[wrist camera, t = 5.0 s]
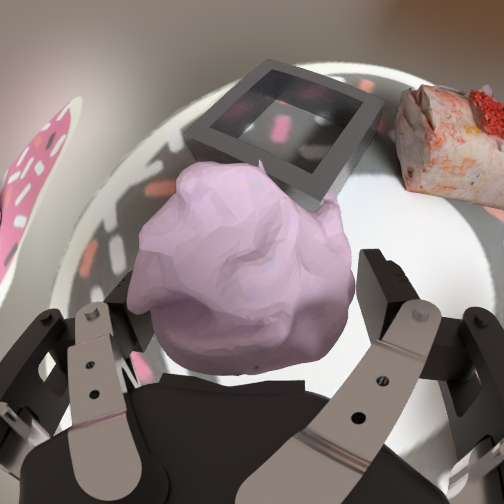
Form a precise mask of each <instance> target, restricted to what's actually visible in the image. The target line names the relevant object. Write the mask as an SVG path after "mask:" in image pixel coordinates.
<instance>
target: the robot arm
mask: <svg viewBox="0 0 504 504" xmlns="http://www.w3.org/2000/svg"><path fill="white" fill-rule="evenodd" d="M0 220H1V210H0ZM132 273H133V270H132V271H130V272H129V273H127V275H126V276H125V277H124V278H123V279H122V281H120V283H119V284H118V285H117V287H115V288H114V290H113V291H112V292H111V293H110V294H109V295H108V297H107V298H106V299H105V300H104V301H103V302H94V303H91V304H88V305H86V306H84V307H83V308H81V309H80V310H79V311H78V313H77V314H76V317H75V318H71V319H64V318H63V316H62V314H61V312H60V310H58V309H49V310H46V311H44V312H42V313H41V314H40V315H38V316H37V317H36V318H35V320H34V321H33V322H32V323H31V324H30V325H29V327H28V328H27V329H26V330H25V332H24V333H23V334H22V335H21V336H20V338H19V339H18V340H17V341H16V342H15V344H14V345H13V346H12V348H11V349H10V350H9V351H8V353H7V354H6V355H5V357H4V358H3V359H2V361H1V362H0V468H1V469H2V470H3V471H5V472H7V473H9V474H10V475H11V476H13V477H14V478H16V479H17V480H19V481H20V497H19V504H504V329H503V328H502V326H501V325H500V323H499V322H498V320H497V318H496V317H495V316H494V315H493V314H492V313H491V312H490V311H488V310H486V309H484V308H481V307H470V308H468V309H466V311H465V312H464V314H463V317H462V319H454V318H446V317H442V316H441V312H440V310H439V309H438V308H437V307H436V306H435V305H434V304H432V303H430V302H428V301H425V300H421V299H420V298H419V296H418V294H417V293H416V291H415V289H414V288H413V286H412V284H411V283H410V282H409V280H408V278H407V276H405V273H404V272H403V270H402V269H401V267H400V266H399V265H397V264H396V263H394V262H393V261H392V260H388V261H386V259H385V258H384V256H383V254H382V253H381V251H380V250H379V249H361V250H360V253H359V262H358V273H357V282H356V294H357V299H358V302H359V306H360V309H361V312H362V315H363V318H364V322H365V325H366V328H367V332H368V335H369V339H370V342H371V346H370V348H369V349H368V351H367V352H366V354H365V355H364V356H363V358H362V359H361V361H360V362H359V363H358V365H357V366H356V368H355V369H354V370H353V372H352V373H351V374H350V376H349V377H348V378H347V379H346V381H345V382H344V383H343V385H342V386H341V387H340V388H339V390H338V391H337V392H336V393H335V395H334V396H333V397H332V398H331V399H330V398H328V397H325V396H323V395H320V394H317V393H313V392H309V391H305V380H296V381H263V382H257V383H251V384H245V385H238V386H230V387H229V386H223V385H220V384H217V383H213V382H210V381H207V380H204V379H201V378H197V377H194V376H185V375H176V374H168V373H163V374H162V377H161V379H160V381H159V383H153V384H147V385H144V386H141V384H140V381H139V378H138V375H137V372H136V369H135V366H134V363H133V360H132V358H131V356H130V354H131V352H132V351H136V352H143V353H144V351H145V350H146V348H147V346H148V344H149V342H150V340H151V338H152V337H153V335H154V333H155V332H154V329H153V325H152V317H151V311H150V310H149V311H148V312H145V313H143V314H139V315H136V314H134V313H132V312H131V311H129V309H128V308H127V296H128V289H129V285H130V281H131V277H132ZM48 352H49V353H50V355H51V356H52V358H53V359H54V361H55V363H56V365H55V366H54V368H53V369H52V371H51V373H50V374H49V376H48V377H47V379H46V381H45V382H43V380H42V379H41V378H40V376H39V373H38V367H39V364H40V363H41V361H42V360H43V358H44V357H45V355H46V354H47V353H48ZM476 370H477V373H478V375H479V378H480V381H481V386H480V383H479V381H478V378H477V376H476V374H475V371H476ZM418 378H421V379H430V380H438V383H439V386H440V389H441V393H442V396H443V399H444V403H445V406H446V410H447V414H448V418H449V422H450V426H451V430H452V434H453V438H454V443H455V448H456V453H457V458H458V462H457V463H456V465H455V466H454V467H453V469H452V471H451V473H450V477H449V486H448V492H447V495H445V494H444V493H443V492H442V491H441V490H440V489H439V488H437V487H436V486H435V485H434V484H432V483H431V482H430V481H429V480H427V479H426V478H425V477H424V476H422V475H421V474H420V473H419V472H417V471H416V470H415V469H414V468H413V467H411V466H410V465H409V464H408V463H407V462H405V461H404V460H403V459H402V458H401V457H399V456H398V455H397V454H396V453H395V452H393V451H392V450H391V449H390V448H389V447H388V446H386V445H385V444H384V442H385V441H386V439H387V437H388V436H389V434H390V432H391V431H392V429H393V427H394V425H395V424H396V422H397V420H398V418H399V417H400V415H401V413H402V411H403V409H404V407H405V405H406V403H407V401H408V399H409V397H410V395H411V393H412V391H413V389H414V387H415V385H416V383H417V381H418ZM69 403H70V407H71V416H72V426H71V427H69V428H67V429H66V430H64V431H62V432H60V433H59V434H57V435H55V436H53V435H54V433H55V431H56V429H57V427H58V425H59V423H60V421H61V419H62V417H63V415H64V413H65V411H66V409H67V407H68V405H69Z"/></svg>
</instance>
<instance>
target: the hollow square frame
mask: <svg viewBox="0 0 504 504" xmlns="http://www.w3.org/2000/svg"><path fill="white" fill-rule="evenodd" d="M276 99H277V100H280V101H283V102H286V103H288V104H291V105H294V106H296V107H299V108H302V109H304V110H307V111H309V112H312V113H314V114H316V115H319V116H321V117H324V118H326V119H328V120H330V121H333V122H335V123H337V124H339V125H342V126H344V127H345V129H344V130H343V132H342V133H341V134H340V136H339V137H338V139H337V140H336V141H335V143H334V144H333V146H332V147H331V148H330V150H329V151H328V153H327V154H326V155H325V157H324V158H323V160H322V161H321V162H320V164H319V165H318V166H317V168H316V169H315V171H314V172H313V173H312V174H311V173H309V172H307V171H305V170H303V169H301V168H299V167H297V166H295V165H293V164H291V163H289V162H287V161H285V160H282V159H280V158H278V157H276V156H274V155H272V154H270V153H268V152H265V151H263V150H261V149H259V148H257V147H254V146H252V145H250V144H248V143H245V142H243V141H241V140H238V138H239V137H240V136H241V134H242V133H243V132H244V131H245V130H246V129H247V128H248V127H249V126H250V125H251V124H252V123H253V122H254V121H255V120H256V119H257V118H258V117H259V116H260V115H261V114H262V113H263V112H264V111H265V109H266V108H267V107H268V106H269V105H270V104H271V103H272V102H273V101H274V100H276ZM384 105H385V100H383V99H380V98H378V97H376V96H374V95H372V94H369V93H367V92H365V91H363V90H360V89H358V88H355V87H353V86H350V85H348V84H345V83H343V82H340V81H338V80H335V79H332V78H330V77H327V76H324V75H321V74H318V73H315V72H312V71H309V70H306V69H303V68H300V67H296V66H293V65H289V64H286V63H282V62H279V61H275V60H271V59H267V60H266V61H264V62H263V63H262V64H260V65H259V66H258V67H257V68H255V69H254V70H253V71H252V72H251V73H249V74H248V75H247V76H246V77H245V78H243V79H242V80H241V81H240V82H239V83H237V84H236V85H235V86H234V87H233V88H232V89H231V90H229V91H228V92H227V93H226V94H225V95H224V96H223V97H222V98H221V99H219V100H218V101H217V102H216V103H215V104H214V105H213V106H212V107H211V108H210V109H209V110H208V111H207V112H206V113H205V114H204V115H203V116H201V117H200V118H199V119H198V120H197V121H196V122H195V123H194V124H193V125H192V126H191V127H190V128H189V129H188V130H187V131H186V132H185V133H184V136H185V138H186V140H187V142H188V144H189V146H190V148H191V150H192V152H193V154H194V156H195V158H196V160H197V162H210V161H213V162H217V163H220V164H235V163H247V164H250V165H253V166H255V167H258V165H259V159H260V160H261V162H262V164H263V167H264V170H265V172H266V174H267V176H268V177H269V178H270V179H271V180H272V181H273V182H274V183H275V184H276V185H277V186H278V187H279V188H280V189H281V190H282V191H283V192H284V193H285V194H286V195H288V196H289V197H290V198H291V199H292V200H294V201H295V202H296V203H297V204H299V205H300V206H301V207H302V208H304V209H305V210H307V211H314V210H316V209H317V208H319V207H320V206H321V205H322V204H323V197H325V196H326V195H328V194H329V193H330V192H331V190H332V191H333V193H334V194H335V196H336V197H337V195H338V194H339V192H340V191H341V189H342V188H343V186H344V184H345V183H346V181H347V180H348V178H349V176H350V175H351V173H352V172H353V170H354V168H355V167H356V165H357V163H358V162H359V160H360V159H361V157H362V155H363V154H364V152H365V150H366V149H367V147H368V145H369V144H370V142H371V140H372V139H373V137H374V135H375V134H376V132H377V130H378V126H379V123H380V119H381V116H382V112H383V109H384Z"/></svg>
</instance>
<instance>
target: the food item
mask: <svg viewBox="0 0 504 504" xmlns="http://www.w3.org/2000/svg"><path fill="white" fill-rule="evenodd" d="M488 86H489V84H488V85H484V86H483V87H482V89H478V91H476V90H475V93H474V90H471V93H470V94H469V93H467V92H463V91H460V90H457V89H454V88H450V87H446V86H442V85H441V86H428V85H424V84H422V85H420V87H419V89H418V90H414V91H412V90H411V88H409V89H408V90H405V91H402V97H401V101H400V104H399V108H398V111H397V115H396V118H395V120H394V125H395V136H396V150H397V156H398V158H399V160H400V164H401V169H402V176H403V179H404V182H405V186H406V190H407V191H409V192H415V193H422V194H428V195H434V196H438V197H443V198H452V199H456V200H460V201H465V202H470V203H474V204H479V205H483V206H487V207H492V208H497V209H502V210H504V105H502V104H500V103H497V102H494V101H495V98H494V96H493V94H492V93H491V92H492V89H491V88H490V86H489V88H488ZM481 91H482V93H481ZM465 94H469V97H465V96H463V95H465ZM493 100H494V101H493Z"/></svg>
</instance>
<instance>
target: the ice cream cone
mask: <svg viewBox="0 0 504 504" xmlns="http://www.w3.org/2000/svg"><path fill="white" fill-rule="evenodd" d="M139 249H140V250H139V252H138V254H137V257H136V259H135V264H134V269H133V273H132V277H131V281H130V285H129V289H128V296H127V308H128V309H129V311H131V312H132V313H134V314H136V315H139V314H143V313H145V312H148V311H149V310H150V311H151V317H152V325H153V329H154V332H155V335H156V338H157V340H158V342H159V344H160V345H161V347H162V348H163V350H164V351H165V352H166V354H167V355H168V356H169V357H170V358H171V359H172V360H173V361H174V362H175V363H177V364H179V365H180V366H182V367H184V368H186V369H188V370H191V371H195V372H199V373H203V374H208V375H219V376H229V375H234V376H239V375H243V374H247V375H257V374H261V373H265V372H268V371H273V370H278V369H282V368H285V367H288V366H292V365H296V364H300V363H308V362H313V361H317V360H320V359H321V358H323V357H324V356H325V355H327V353H328V352H329V351H330V350H331V349H332V347H333V346H334V345H335V343H336V342H337V340H338V339H339V337H340V335H341V334H342V332H343V330H344V328H345V326H346V323H347V319H348V308H349V305H350V304H351V302H352V300H353V297H354V294H355V279H354V276H353V273H352V271H351V249H350V246H349V242H348V239H347V237H346V235H345V233H344V230H343V224H342V219H341V211H340V207H339V205H338V202H337V197H336V196H335V194H334V193H333V191H332V190H331V192H330V193H329V194H328V195H326V196H325V197H323V204H322V205H321V206H320V207H319V208H317V209H316V210H314V211H307V210H305V209H304V208H302V207H301V206H300V205H299V204H297V203H296V202H295V201H294V200H292V199H291V198H290V197H289V196H288V195H286V194H285V193H284V192H283V191H282V190H281V189H280V188H279V187H278V186H277V185H276V184H275V183H274V182H273V181H272V180H271V179H270V178H269V177H268V176H267V174H266V172H265V170H264V167H263V164H262V162H261V160H260V159H259V165H258V167H255V166H253V165H250V164H247V163H235V164H220V163H217V162H213V161H210V162H197V163H194V164H192V165H190V166H189V167H187V168H185V169H184V170H182V172H181V173H180V175H179V176H178V178H177V180H176V193H175V194H173V195H172V196H171V198H170V199H169V200H168V201H167V202H166V203H165V204H164V205H163V206H162V208H161V209H160V210H159V211H157V212H156V213H155V214H154V215H153V216H152V217H151V218H150V220H149V221H148V222H147V223H146V224H145V225H144V226H143V228H142V230H141V231H140V233H139Z"/></svg>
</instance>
